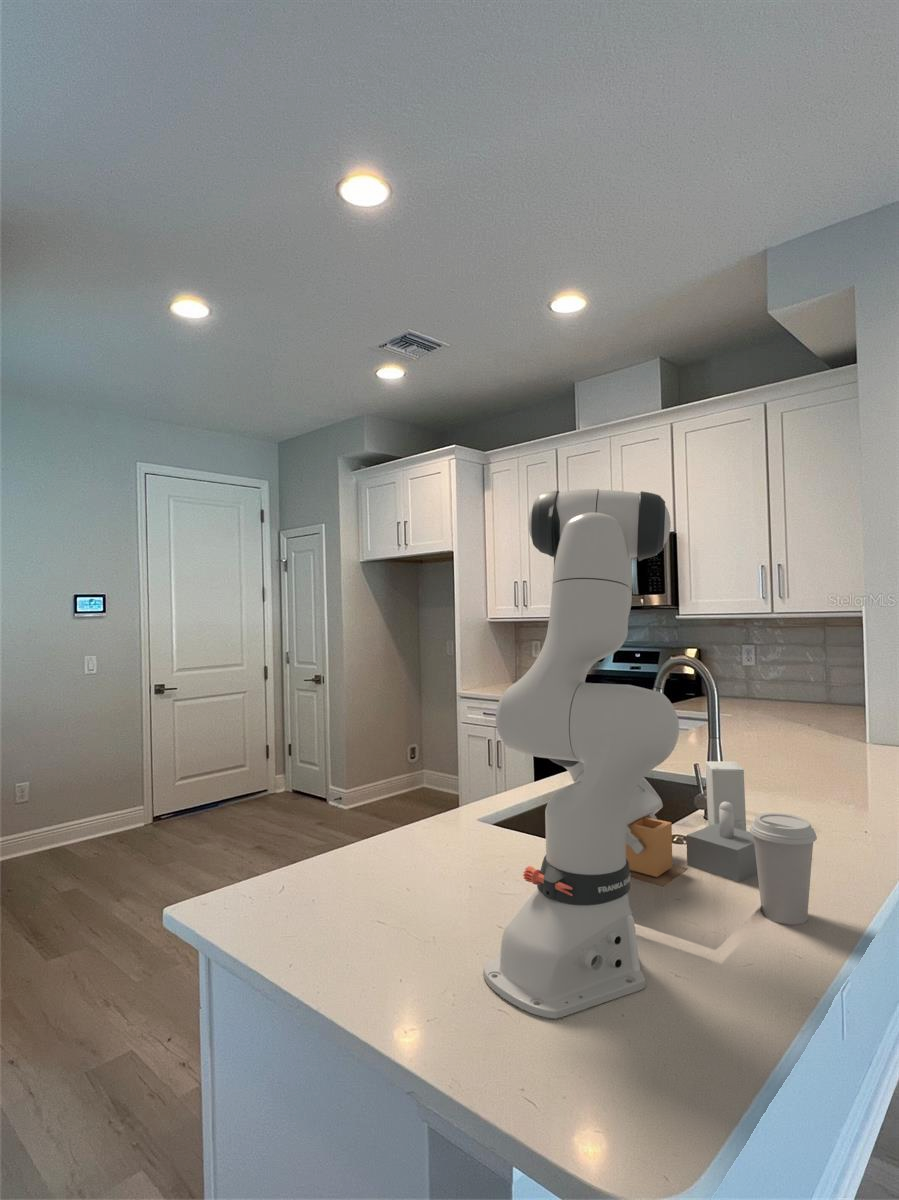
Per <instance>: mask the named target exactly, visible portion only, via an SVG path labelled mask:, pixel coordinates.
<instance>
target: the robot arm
mask: <svg viewBox="0 0 899 1200" xmlns="http://www.w3.org/2000/svg"><path fill="white" fill-rule="evenodd" d="M670 516H671V515H670V512H669V509H668V508H667V506H666V501H665V500H664V498H663V497H662V496H661V495H659V494H656V493H653V492H648V491H642V490H641V491H640V492H633V491H624V490H623V491H622V490H610V489H609V490H605V489H603V490H602V489H599V488H592V489H591V488H588V489H587V488H586V489H575V490H566V491H559V490H558V489H557V490H551V491H548V492H544V493H541V494H539V496H538V497H537V498H535V500H534V501H533V506H532V508H531V509H530V511H529V516H528V531H529V535H530V538H531V541H532V545H533V547H535V548H536V549H537V551H539V553H542V554H545V555H548V556H550V557H552V558H554V557H555V560H554V566H553V573H552V583H551V584H552V588H551V598H550V599H551V601H550V608H549V609H550V610H549V617H548V623H547V631H546V636H545V640H544V642H543V645H542V648H541V650H540V652H539V654H538V656H537V657H536V659H535V661H534V662H533V664H532V666H531V667H530V668H529V669H528V671H526V673H524V675H523V676H521V678H519V679H518V680H517V681H516V682H514V683H513V684H511V685H510V686H509V687H508V688H507V689H506V690H505V691H504V692H503V693H502V695H501V697H500V698H499V700H498V703H497V706H496V709H495V726H496V731H497V732H498V735H499V737H500V739H501V741H502V742H503V743H504V745H505V746H506V747H507V748H508V749H510V750H514V751H517V752H520V753H522V754H525V755H529V756H532V757H535V758H540V759H541V758H542V759H548V760H550V761H551V762H552V763H555V764H556V765H558V766H561V767H563V768H565V769H566V770H567V772H568V773H569V774H570V777H571V780H572V781H573V783H572V784H569V785H567V786H565V787H563V788H561V789H559V790H558V791H556V792H555V793H554V794H553V795H552V796H551V797H550V798H549V800H548V802H547V804H546V807H545V809H544V811H545V812H544V813H545V814H544V817H545V819H544V820H545V821H544V822H545V855H544V857H543V860H542V863H541V866H540V867H541V868H540V869H536V868H534V867H533V866H532V865H530V866H529V865H528V866H526V868H524V871H523V875H522V876H523V880H525V881H526V882H529V883H531V884H533V885H534V886H535V885H536V890H535V891H534V892H533V893H532V894H531V896H530V897H529V898H528V899H527V901H526V902H525V903H524V905H523V906H522V907H521V908H520V910H518V912H517V913H516V914H515V916H514V917H513V918H512V919H511V921H509V923H508V924H507V925H506V926H505V928H504V930H503V933H502V938H501V945H500V955H498V956H496V957H495V958H494V959H492V960H490V961H489V962H487V963H486V964H485V965H484V966H483V972H482V974H483V979H484V981H485V982H486V984H487V985H488V986H489V987H490V988H491V989H492V990H493V991H494V992H495V993H496V994H497V995H499V996H501V998H503V999H504V1000H506V1001H507V1002H509V1003H511V1004H512V1005H514V1006H516V1007H518V1008H520V1009H522V1010H523V1011H525V1012H528V1013H531V1014H533V1015H536V1016H540V1017H543V1018H547V1019H548V1018H549V1019H560V1018H562V1017H566V1016H570V1015H571V1014H574V1013H577V1012H579V1011H580V1012H581V1011H583V1010H586V1009H589V1008H592V1007H594V1006H598V1005H601V1004H603V1003H606V1002H609V1001H612V1000H615V999H618V998H621V997H624V996H627V995H630V994H633V993H636V992H638V991H641V990H643V989H645V988H646V985H647V984H646V978H645V975H644V973H643V971H642V970H641V968H642V967H641V966H642V963H641V960H640V956H639V950H638V941H637V934H636V932H637V931H636V927H635V919H634V915H633V912H632V908H631V904H630V899H629V894H628V893H629V891H630V889H631V873H630V868H629V861H628V860H627V859H626V844H627V845H629V846H631V848H632V849H633V850H634V852H635V853H636V854H639V853H640V852H642V851H643V850H644V849H645V848H646V845H645V844H644V843H643V841H642V840H641V839H639V840H638V839H637V838H636V837H635V836H634V835H633V834H631V833H630V832H631V830H630V829H629V827H628V826H627V825H629V824H631V823H633V822H635V821H637V820H639V819H641V818H643V817H648V818H653V819H657V818H658V817H657V816H656V815H655V814H657V813H658V812H659V811H660V810H661V809H662V808H663V807H664V805H663V801H662V799H661V797H660V796H659V794H658V793H657V792H656V790H655V789H654V788H653V786H652V785H651V784H650V783H649V781H648V780H647V779H646V778H645V777H646V775H648V774H649V773H650V772H651V771H652V770H653V769H655V768H656V767H658V766H659V765H662V764H663V763H664V762H665V761H666V760H667V759H668V758H669V757H670V756H671V754H672V753H673V752H674V749H675V748H676V746H677V743H678V739H679V735H680V723H679V718H678V717H679V716H678V713H677V711H676V709H675V707H674V705H673V703H672V702H671V700H670V699H669V698H668V697H667V696H666V695H665V694H664V693H663V692H660V691H656V690H653V689H649V688H645V687H641V686H636V685H632V684H623V683H622V684H620V683H618V684H617V683H594V682H593V683H592V682H586V678H587V676H588V673H589V671H590V669H591V668H592V667H593V665H595V664H596V663H597V662H598V661H601V660H602V659H605V658H607V657H609V656H611V655H613V654H615V653H616V652H618V651H619V650H620V648H622V647H623V645H624V643H625V641H626V640H627V637H628V630H629V629H628V628H629V627H628V626H629V616H630V612H631V608H632V600H633V599H632V597H633V569H632V567H633V566H632V558H635V559H637V560H638V562H641V561H643V560H645V559H649V558H653V557H655V556H657V555H658V554H659V553H661V552H662V551H663V550H664V546H665V544H666V542H667V541H668V539H669V537H670V531H671V527H672V526H671V522H672V521H671V517H670ZM657 820H658V819H657Z"/></svg>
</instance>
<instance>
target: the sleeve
mask: <svg viewBox="0 0 899 1200" xmlns="http://www.w3.org/2000/svg"><path fill="white" fill-rule="evenodd" d="M627 826H628V827H629V829H630V830H631V832H630V833H631V834H633V835H634V836H635V837H636V838H637V839H638V840H639V839H641V840H642V841H643V843H644V844H645V845H646V848H645V849H644V850H643V851H642V852H640V853H639V854H636V853H635V852H634V850H633V849H632V848H631V846H629V845H627V844H626V859H627V860H628V861H629V868H630V870H633V871H637V872H640V873H644V874H647V875H651V876H655V877H658V876H659V875H661V874H662V873H664V872H665V871H667V870H668V869H670V868H671V867H672V864H673V832H672V831H673V830H672V828H673V827H672V822H670V821H666V820H661V819H653V818H648V817H643V818H641V819H639V820H637V821H635V822H633V823H631V824H629V825H627Z"/></svg>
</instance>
